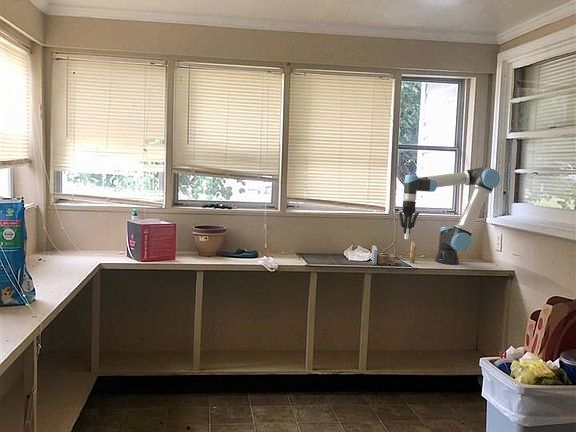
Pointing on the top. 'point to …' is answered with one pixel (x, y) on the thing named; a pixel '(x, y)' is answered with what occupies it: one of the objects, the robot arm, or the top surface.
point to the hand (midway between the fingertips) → (406, 238)
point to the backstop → (374, 255)
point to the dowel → (412, 252)
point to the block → (385, 258)
